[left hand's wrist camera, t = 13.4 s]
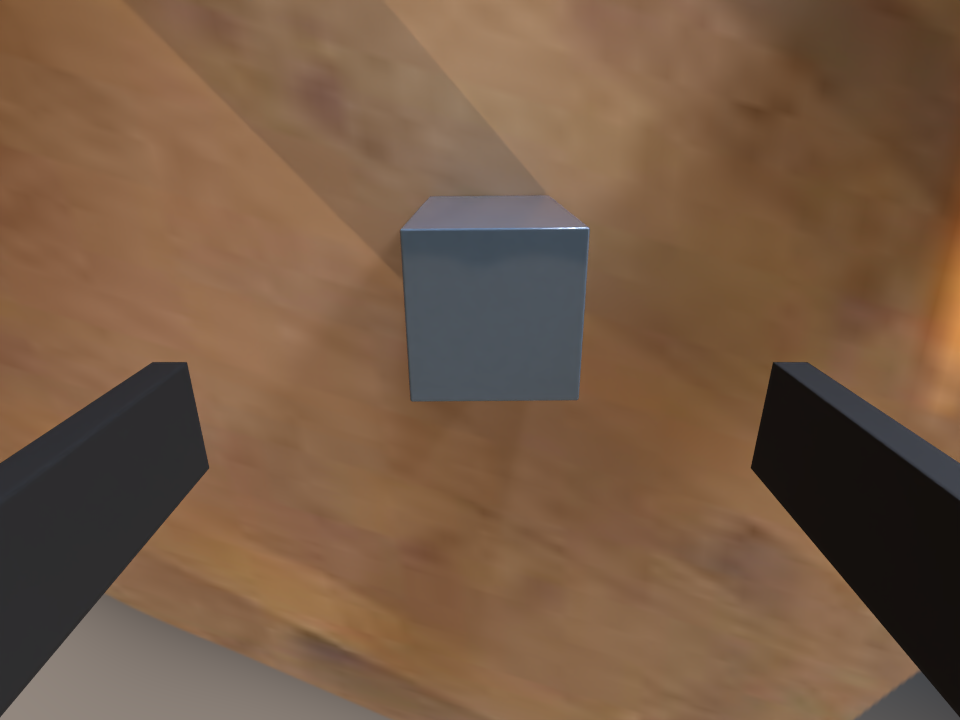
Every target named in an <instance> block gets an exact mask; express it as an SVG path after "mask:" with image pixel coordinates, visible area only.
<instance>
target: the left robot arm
mask: <svg viewBox="0 0 960 720" xmlns="http://www.w3.org/2000/svg"><path fill="white" fill-rule="evenodd" d="M208 469H209V465H208V460H207V455H206V451H205V446H204V441H203V436H202V432H201V427H200V422H199V417H198V413H197V408H196V403H195V398H194V394H193V389H192V384H191V379H190V375H189V370H188V365H187V362H152V363H151V364H149V365H148V366H146V367H145V368H143V369H142V370H140V371H139V372H137V373H136V374H134V375H133V376H131V377H130V378H128V379H127V380H125V381H124V382H122V383H121V384H119V385H118V386H116V387H115V388H113V389H112V390H110V391H109V392H107V393H106V394H104V395H103V396H101V397H100V398H98V399H97V400H95V401H94V402H92V403H91V404H89V405H88V406H86V407H85V408H83V409H81V410H80V411H78V412H77V413H75V414H74V415H72V416H71V417H69V418H68V419H66V420H65V421H63V422H62V423H60V424H59V425H57V426H56V427H54V428H53V429H51V430H50V431H48V432H47V433H45V434H44V435H42V436H41V437H39V438H38V439H36V440H35V441H33V442H32V443H30V444H29V445H27V446H26V447H24V448H23V449H21V450H20V451H18V452H17V453H15V454H14V455H12V456H11V457H9V458H8V459H6V460H5V461H3V462H2V463H0V717H1V716H2V714H3V713H4V712H5V711H6V710H7V708H8V707H9V706H10V705H11V704H12V702H13V701H14V700H15V699H16V698H17V697H18V695H19V694H20V693H21V692H22V691H23V689H24V688H25V687H26V686H27V685H28V683H29V682H30V681H31V680H32V679H33V677H34V676H35V675H36V674H37V673H38V671H39V670H40V669H41V668H42V667H43V666H44V664H45V663H46V662H47V661H48V660H49V658H50V657H51V656H52V655H53V653H54V652H55V651H56V650H57V649H58V648H59V646H60V645H61V644H62V643H63V642H64V640H65V639H66V638H67V637H68V636H69V634H70V633H71V632H72V631H73V630H74V629H75V627H76V626H77V625H78V624H79V623H80V621H81V620H82V619H83V618H84V617H85V615H86V614H87V613H88V612H89V611H90V609H91V608H92V607H93V606H94V605H95V604H96V602H97V601H98V600H99V599H100V598H101V596H102V595H103V594H104V593H105V592H106V590H107V589H108V588H109V587H110V586H111V584H112V583H113V582H114V581H115V580H116V579H117V577H118V576H119V575H120V574H121V573H122V571H123V570H124V569H125V568H126V567H127V565H128V564H129V563H130V562H131V561H132V559H133V558H134V557H135V556H136V555H137V553H138V552H139V551H140V550H141V549H142V548H143V546H144V545H145V544H146V543H147V542H148V540H149V539H150V538H151V537H152V536H153V534H154V533H155V532H156V531H157V530H158V528H159V527H160V526H161V525H162V524H163V522H164V521H165V520H166V519H167V518H168V517H169V515H170V514H171V513H172V512H173V511H174V509H175V508H176V507H177V506H178V505H179V503H180V502H181V501H182V500H183V499H184V497H185V496H186V495H187V494H188V493H189V491H190V490H191V489H192V488H193V487H194V486H195V484H196V483H197V482H198V481H199V480H200V478H201V477H202V476H203V475H204V474H205V472H206V471H207V470H208ZM751 469H752V470H753V471H754V472H755V474H756V475H757V476H758V477H759V478H760V480H761V481H762V482H763V483H764V484H765V486H766V487H767V488H768V489H769V490H770V491H771V493H772V494H773V495H774V496H775V497H776V499H777V500H778V501H779V502H780V503H781V505H782V506H783V507H784V508H785V509H786V511H787V512H788V513H789V514H790V515H791V517H792V518H793V519H794V520H795V521H796V522H797V524H798V525H799V526H800V527H801V528H802V530H803V531H804V532H805V533H806V534H807V536H808V537H809V538H810V539H811V540H812V542H813V543H814V544H815V545H816V546H817V548H818V549H819V550H820V551H821V552H822V553H823V555H824V556H825V557H826V558H827V559H828V561H829V562H830V563H831V564H832V565H833V567H834V568H835V569H836V570H837V571H838V573H839V574H840V575H841V576H842V577H843V579H844V580H845V581H846V582H847V583H848V584H849V586H850V587H851V588H852V589H853V590H854V592H855V593H856V594H857V595H858V596H859V598H860V599H861V600H862V601H863V602H864V604H865V605H866V606H867V607H868V608H869V609H870V611H871V612H872V613H873V614H874V615H875V617H876V618H877V619H878V620H879V621H880V623H881V624H882V625H883V626H884V627H885V629H886V630H887V631H888V632H889V633H890V635H891V636H892V637H893V638H894V639H895V640H896V642H897V643H898V644H899V645H900V646H901V648H902V649H903V650H904V651H905V652H906V654H907V655H908V656H909V657H910V658H911V660H912V661H913V662H914V663H915V664H916V666H917V667H918V668H919V669H920V670H921V671H922V673H923V674H924V675H925V676H926V677H927V679H928V680H929V681H930V682H931V683H932V685H933V686H934V687H935V688H936V689H937V691H938V692H939V693H940V694H941V695H942V697H943V698H944V699H945V700H946V701H947V702H948V704H949V705H950V706H951V707H952V708H953V710H954V711H955V712H956V713H957V714H958V716H959V717H960V463H958V462H957V461H955V460H954V459H952V458H951V457H949V456H948V455H946V454H945V453H943V452H942V451H940V450H939V449H937V448H936V447H934V446H933V445H931V444H930V443H928V442H927V441H925V440H924V439H922V438H921V437H919V436H918V435H916V434H915V433H913V432H912V431H910V430H909V429H907V428H906V427H904V426H903V425H901V424H900V423H898V422H897V421H895V420H894V419H892V418H891V417H889V416H888V415H886V414H885V413H883V412H882V411H880V410H879V409H877V408H875V407H874V406H872V405H871V404H869V403H868V402H866V401H865V400H863V399H862V398H860V397H859V396H857V395H856V394H854V393H853V392H851V391H850V390H848V389H847V388H845V387H844V386H842V385H841V384H839V383H838V382H836V381H835V380H833V379H832V378H830V377H829V376H827V375H826V374H824V373H823V372H821V371H820V370H818V369H817V368H815V367H814V366H812V365H811V364H809V363H808V362H773V365H772V370H771V375H770V379H769V384H768V389H767V394H766V398H765V403H764V408H763V413H762V417H761V422H760V427H759V432H758V436H757V441H756V446H755V451H754V455H753V460H752V465H751Z"/></svg>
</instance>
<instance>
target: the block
mask: <svg viewBox="0 0 960 720" xmlns="http://www.w3.org/2000/svg"><path fill="white" fill-rule="evenodd" d="M589 233H590V229H589V227H588V226H586V225H585V224H584V223H583V222H581V221H580V220H579V219H578V218H576V217H575V216H574V215H573V214H571V213H570V212H569V211H568V210H566V209H565V208H564V207H563V206H561V205H560V204H559V203H558V202H556V201H555V200H554V199H553V198H551V197H550V196H439V197H429V198H428V199H427V200H426V201H425V203H424V204H423V205H422V206H421V207H420V208H419V209H418V210H417V212H416V213H415V214H414V215H413V216H412V217H411V218H410V219H409V220H408V222H407V223H406V224H405V225H404V226H403V227H402V228H401V229H400V240H401V257H402V273H403V289H404V305H405V321H406V337H407V353H408V369H409V385H410V400H411V401H532V400H578V399H579V387H580V372H581V356H582V341H583V326H584V310H585V295H586V279H587V264H588V249H589Z"/></svg>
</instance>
